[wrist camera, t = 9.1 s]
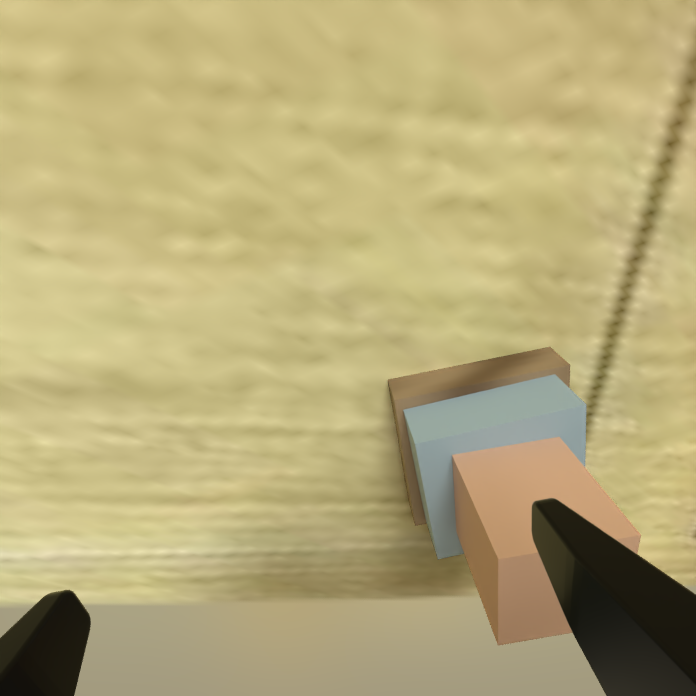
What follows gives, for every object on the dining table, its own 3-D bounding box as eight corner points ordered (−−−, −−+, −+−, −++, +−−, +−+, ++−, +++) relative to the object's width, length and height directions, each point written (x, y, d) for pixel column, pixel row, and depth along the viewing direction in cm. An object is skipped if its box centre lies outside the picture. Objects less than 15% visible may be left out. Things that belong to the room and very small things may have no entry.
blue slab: (554, 374, 20) (586, 404, 18) (557, 488, 23) (584, 526, 21) (403, 409, 20) (414, 444, 18) (425, 518, 23) (437, 559, 21)
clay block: (559, 436, 18) (640, 535, 14) (553, 515, 20) (622, 624, 16) (451, 454, 18) (498, 559, 14) (456, 531, 20) (497, 645, 16)
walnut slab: (543, 341, 22) (570, 365, 20) (542, 464, 25) (565, 496, 23) (385, 373, 22) (394, 400, 20) (406, 491, 26) (415, 525, 23)
